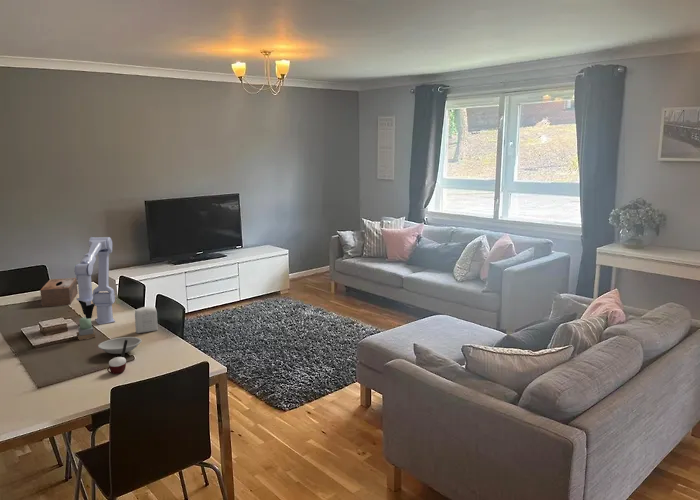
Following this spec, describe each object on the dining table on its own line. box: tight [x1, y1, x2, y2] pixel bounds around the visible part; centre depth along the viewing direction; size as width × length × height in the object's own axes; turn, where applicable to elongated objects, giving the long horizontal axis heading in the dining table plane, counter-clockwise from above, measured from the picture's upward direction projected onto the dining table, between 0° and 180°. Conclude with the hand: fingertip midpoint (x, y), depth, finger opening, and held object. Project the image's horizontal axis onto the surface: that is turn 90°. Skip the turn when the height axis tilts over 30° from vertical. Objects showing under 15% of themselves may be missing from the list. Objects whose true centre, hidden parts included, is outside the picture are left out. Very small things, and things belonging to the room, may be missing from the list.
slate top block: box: [77, 326, 95, 336], centre depth 254 cm, size 6×6×2 cm
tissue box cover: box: [39, 277, 79, 307], centre depth 315 cm, size 26×14×10 cm, turn 18°
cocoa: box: [106, 340, 128, 375], centre depth 214 cm, size 10×6×12 cm, turn 126°
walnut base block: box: [76, 330, 96, 341], centre depth 254 cm, size 7×7×2 cm
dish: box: [97, 336, 143, 355], centre depth 234 cm, size 18×14×5 cm
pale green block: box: [78, 316, 93, 330], centre depth 253 cm, size 5×5×4 cm
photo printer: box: [134, 306, 158, 334], centre depth 262 cm, size 10×4×12 cm, turn 123°
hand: (87, 316), depth 254 cm, fingers open, 7 cm apart
